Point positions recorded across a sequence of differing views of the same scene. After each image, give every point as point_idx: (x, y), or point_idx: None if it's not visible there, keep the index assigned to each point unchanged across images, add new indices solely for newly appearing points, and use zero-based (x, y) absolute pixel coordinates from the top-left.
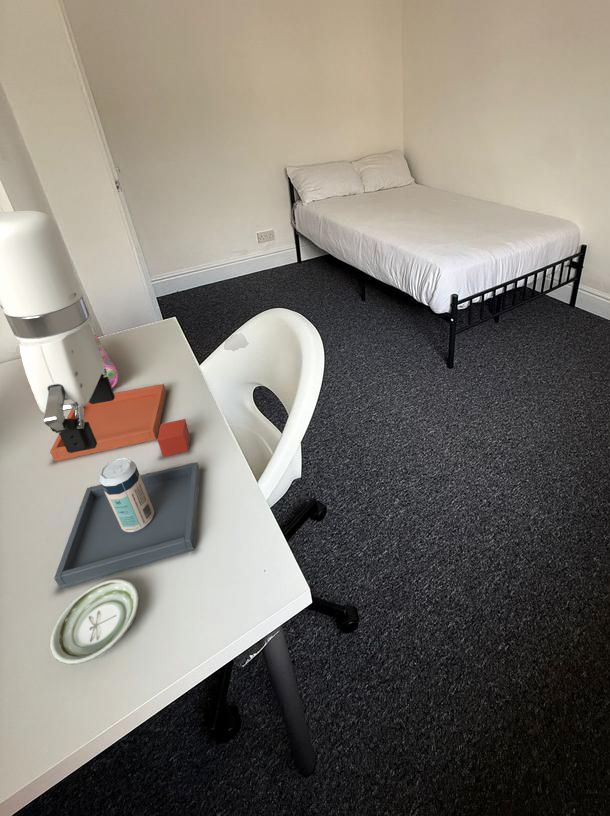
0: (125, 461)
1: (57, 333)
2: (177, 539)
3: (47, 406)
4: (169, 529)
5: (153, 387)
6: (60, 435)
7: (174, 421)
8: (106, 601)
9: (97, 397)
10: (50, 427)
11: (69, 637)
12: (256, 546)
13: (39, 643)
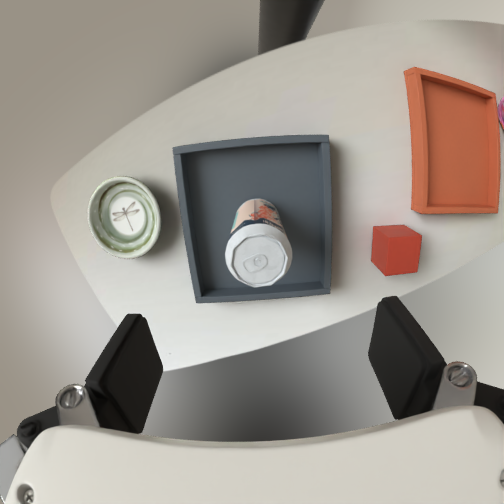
0: (276, 273)
1: None
2: (198, 289)
3: (3, 500)
4: None
5: (496, 199)
6: (96, 362)
7: (418, 256)
8: (147, 215)
9: (382, 340)
10: (7, 439)
11: (116, 191)
12: (195, 348)
13: (125, 154)
